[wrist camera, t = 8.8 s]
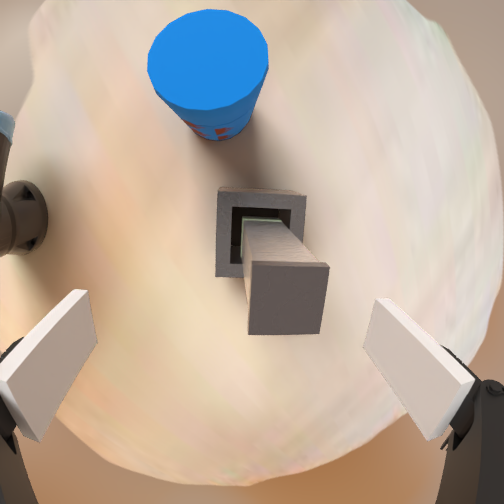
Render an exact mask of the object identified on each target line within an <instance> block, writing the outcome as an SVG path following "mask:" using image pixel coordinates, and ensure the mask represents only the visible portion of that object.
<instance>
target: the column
mask: <svg viewBox="0 0 504 504" xmlns="http://www.w3.org/2000/svg"><path fill="white" fill-rule="evenodd" d="M240 255H241V257H242V265H243V273H244V281H245V289H246V297H247V304H248V335H299V334H319V332H320V326H321V320H322V315H323V309H324V302H325V296H326V290H327V283H328V276H329V269H330V267H329V266H328V265H327V264H326V263H323V262H319V261H318V260H317V259H316V257H315V256H314V255H313V254H312V253H311V252H310V251H309V250H308V249H307V248H306V247H305V246H304V245H303V244H302V243H301V241H300V240H299V239H298V238H297V237H296V236H295V235H294V234H293V233H292V232H291V231H290V230H289V229H288V228H287V227H286V226H285V225H284V224H283V223H282V220H281V219H279V218H275V217H253V216H242V231H241V253H240Z"/></svg>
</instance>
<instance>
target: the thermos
mask: <svg viewBox="0 0 504 504" xmlns="http://www.w3.org/2000/svg"><path fill="white" fill-rule="evenodd" d="M267 71H268V47H267V43H266V41H265V39H264V37H263V35H262V33H261V32H260V30H259V29H258V28H257V27H256V26H255V25H254V24H253V23H251V22H250V21H249V20H248V19H247V18H245V17H243V16H241V15H238V14H235V13H233V12H230V11H227V10H213V9H206V10H201V11H196V12H192V13H188V14H185V15H184V16H182V17H180V18H178V19H176V20H174V21H173V22H171V23H169V24H168V25H167V26H166V27H165V28H164V29H163V30H162V31H161V32H160V33H159V34H158V35H157V37H156V38H155V40H154V42H153V44H152V46H151V49H150V51H149V53H148V67H147V72H148V74H149V77H150V79H151V82H152V84H153V87H154V89H155V91H156V94H157V95H158V96H159V97H160V98H161V99H162V100H163V101H164V102H165V103H166V104H167V105H168V106H169V107H170V108H171V109H172V110H173V111H174V112H175V113H176V114H177V115H178V116H179V117H180V118H181V119H182V120H183V121H184V122H185V123H186V124H187V125H188V126H189V127H190V128H191V129H192V130H193V131H194V132H195V133H196V134H198V135H200V136H202V137H204V138H206V139H208V140H217V141H221V140H225V139H229V138H232V137H233V136H235V135H237V134H238V133H240V132H241V130H242V129H243V128H244V127H245V125H246V124H247V123H248V122H249V120H250V117H251V114H252V112H253V109H254V106H255V104H256V101H257V98H258V96H259V93H260V90H261V88H262V85H263V82H264V80H265V77H266V74H267Z"/></svg>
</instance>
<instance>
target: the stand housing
mask: <svg viewBox="0 0 504 504" xmlns="http://www.w3.org/2000/svg"><path fill="white" fill-rule="evenodd" d="M306 197H307V196H306V195H303V194H300V193H297V192H294V191H290V190H274V189H256V188H234V187H220V188H219V190H218V196H217V226H216V273H215V277H236V278H244V273H243V265H242V257H241V255H240V253H241V246H231V222H232V207H255V208H275V209H279V215H278V218H279V219H281V220H282V223H283V224H284V225H285V226H286V227H287V228H288V229H289V230H290V231H291V232H292V233H293V234H294V235H295V236H296V237H297V238H298V239H299V240H300V241H301V243H303V232H304V221H305V209H306Z"/></svg>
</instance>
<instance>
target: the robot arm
mask: <svg viewBox="0 0 504 504" xmlns="http://www.w3.org/2000/svg"><path fill="white" fill-rule="evenodd" d="M14 128H15V121H14V119H13V117H12V116H11V115H9V114H8V113H6V112H3V111H1V110H0V257H2V256H4V255H6V254H16V255H23V254H27V253H29V252H31V251H33V250H35V249H37V248H38V247H39V246H40V244H41V243H42V241H43V240H44V237H45V234H46V231H47V223H48V216H47V208H46V204H45V201H44V198H43V196H42V194H41V192H40V191H39V190H38V188H37V187H36V186H35V185H34V184H32V183H31V182H28V181H25V180H21V181H14V182H11V183H9V184H7V185H6V186H5V187H3V184H4V177H5V172H6V166H7V161H8V156H9V151H10V147H11V146H12V137H13V132H14ZM96 344H97V337H96V332H95V328H94V322H93V317H92V312H91V306H90V300H89V294H88V290H79V289H74V290H73V291H71V292H70V293H69V294H68V295H67V296H66V297H65V298H64V299H63V300H62V301H61V302H60V303H59V304H58V305H57V306H55V307H54V308H53V309H52V310H51V311H50V312H49V313H48V314H47V315H46V316H45V317H44V318H43V319H42V320H41V321H40V322H39V323H38V324H37V325H36V326H35V327H34V328H33V329H32V330H31V331H30V332H29V333H28V334H27V335H26V336H25V337H22V338H20V339H19V340H17V341H15V342H14V343H12V344H11V346H10V347H9V348H8V349H7V350H6V352H4V353H3V354H2V355H1V358H0V504H38V502H37V499H36V497H35V494H34V491H33V489H32V486H31V483H30V481H29V478H28V475H27V472H26V469H25V466H24V462H23V459H22V456H21V452H20V448H19V445H18V440H17V437H16V435H15V433H14V432H13V431H14V429H15V427H16V425H17V426H18V428H19V429H20V431H21V433H22V434H23V436H25V437H27V438H29V439H32V440H34V441H37V442H41V440H42V438H43V436H44V434H45V432H46V430H47V428H48V426H49V424H50V423H51V420H52V419H53V417H54V415H55V413H56V411H57V410H58V408H59V406H60V404H61V402H62V401H63V399H64V397H65V395H66V394H67V392H68V390H69V388H70V387H71V385H72V383H73V381H74V380H75V378H76V376H77V375H78V373H79V371H80V370H81V368H82V366H83V365H84V363H85V361H86V360H87V358H88V357H89V355H90V353H91V352H92V350H93V349H94V347H95V345H96ZM363 348H364V350H365V351H366V353H367V354H368V355H369V357H370V358H371V360H372V361H373V362H374V364H375V365H376V367H377V368H378V370H379V371H380V372H381V374H382V375H383V377H384V378H385V380H386V381H387V382H388V384H389V385H390V387H391V388H392V390H393V391H394V393H395V394H396V395H397V397H398V398H399V400H400V401H401V403H402V404H403V406H404V407H405V409H406V410H407V412H408V413H409V415H410V416H411V417H412V419H413V421H414V422H415V424H416V425H417V426H418V428H419V430H420V431H421V432H422V434H423V436H424V437H425V439H426V440H427V441H429V440H432V439H434V438H437V437H439V436H442V435H443V433H444V432H445V430H446V429H447V427H448V425H449V424H450V425H451V427H452V428H453V430H452V432H451V433H450V435H449V436H448V437H447V439H446V440H445V442H444V443H443V444H442V446H441V448H440V449H441V450H442V449H443V448H444V447H445V446H446V444H448V448H447V449H446V451H447V454H446V460H445V466H444V470H443V475H442V479H441V484H440V489H439V493H438V496H437V500H436V503H435V504H504V386H503V385H502V384H501V383H499V382H497V381H494V380H484V381H483V382H482V381H481V380H480V379H479V378H478V377H477V376H476V375H475V374H474V373H473V372H472V371H471V370H470V369H469V368H468V367H467V366H466V365H465V364H464V363H462V361H461V360H460V359H459V358H456V356H455V355H454V354H453V353H452V352H451V351H450V350H449V349H447V348H445V347H444V346H442V345H440V344H439V343H438V342H436V341H435V340H434V339H433V338H432V337H431V336H430V335H429V334H428V333H427V332H426V331H425V330H424V329H422V328H421V327H420V326H419V325H418V324H417V323H416V322H415V321H414V320H413V319H412V318H410V317H409V316H408V315H407V314H406V313H405V312H404V311H403V310H401V309H400V308H399V307H398V306H397V305H396V304H395V303H394V302H392V301H391V300H390V299H389V298H378V299H375V303H374V307H373V311H372V315H371V319H370V323H369V327H368V331H367V334H366V338H365V342H364V345H363Z"/></svg>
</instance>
